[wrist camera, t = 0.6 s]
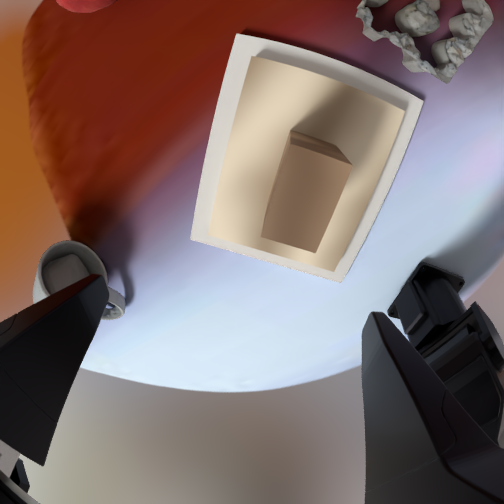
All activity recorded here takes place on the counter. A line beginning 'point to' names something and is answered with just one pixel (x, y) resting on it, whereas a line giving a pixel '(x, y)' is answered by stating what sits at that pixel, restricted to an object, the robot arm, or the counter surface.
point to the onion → (85, 5)
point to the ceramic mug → (72, 273)
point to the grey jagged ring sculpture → (425, 22)
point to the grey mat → (224, 121)
